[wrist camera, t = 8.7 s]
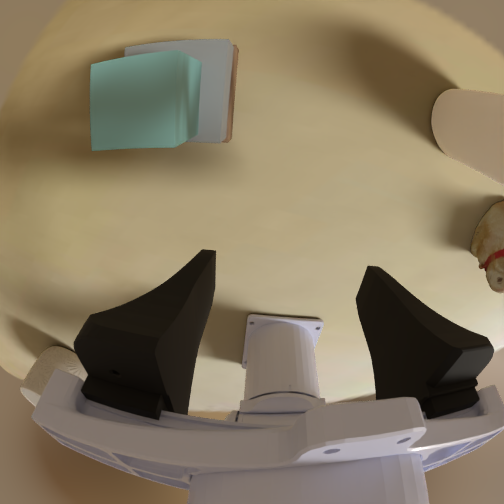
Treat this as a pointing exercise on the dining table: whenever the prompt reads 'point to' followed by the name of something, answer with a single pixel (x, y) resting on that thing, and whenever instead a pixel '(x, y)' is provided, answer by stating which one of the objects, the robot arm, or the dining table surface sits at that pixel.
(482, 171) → the can
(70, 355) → the planter
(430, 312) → the robot arm
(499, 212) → the chocolate bunny
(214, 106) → the tower top
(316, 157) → the dining table surface
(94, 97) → the teal block
